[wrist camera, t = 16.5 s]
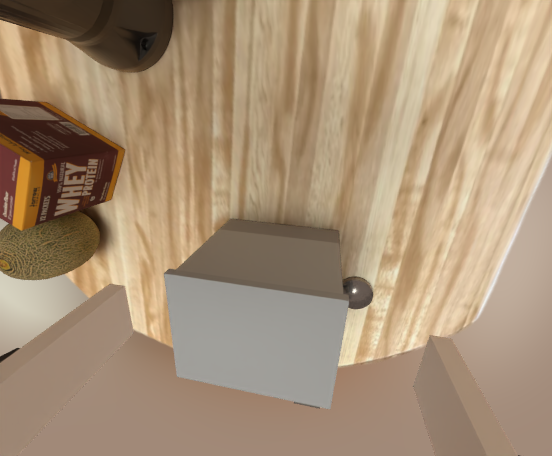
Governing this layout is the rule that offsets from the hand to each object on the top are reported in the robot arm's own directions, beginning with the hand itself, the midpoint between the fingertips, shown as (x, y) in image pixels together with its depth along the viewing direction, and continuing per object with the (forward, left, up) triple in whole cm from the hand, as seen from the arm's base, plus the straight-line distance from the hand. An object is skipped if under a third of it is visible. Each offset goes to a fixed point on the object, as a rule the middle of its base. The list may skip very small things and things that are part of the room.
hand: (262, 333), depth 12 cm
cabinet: (-4, -14, -32) cm, 35 cm away
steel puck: (+9, -18, -32) cm, 38 cm away
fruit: (-42, -12, -32) cm, 54 cm away
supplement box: (-40, +2, -32) cm, 51 cm away
